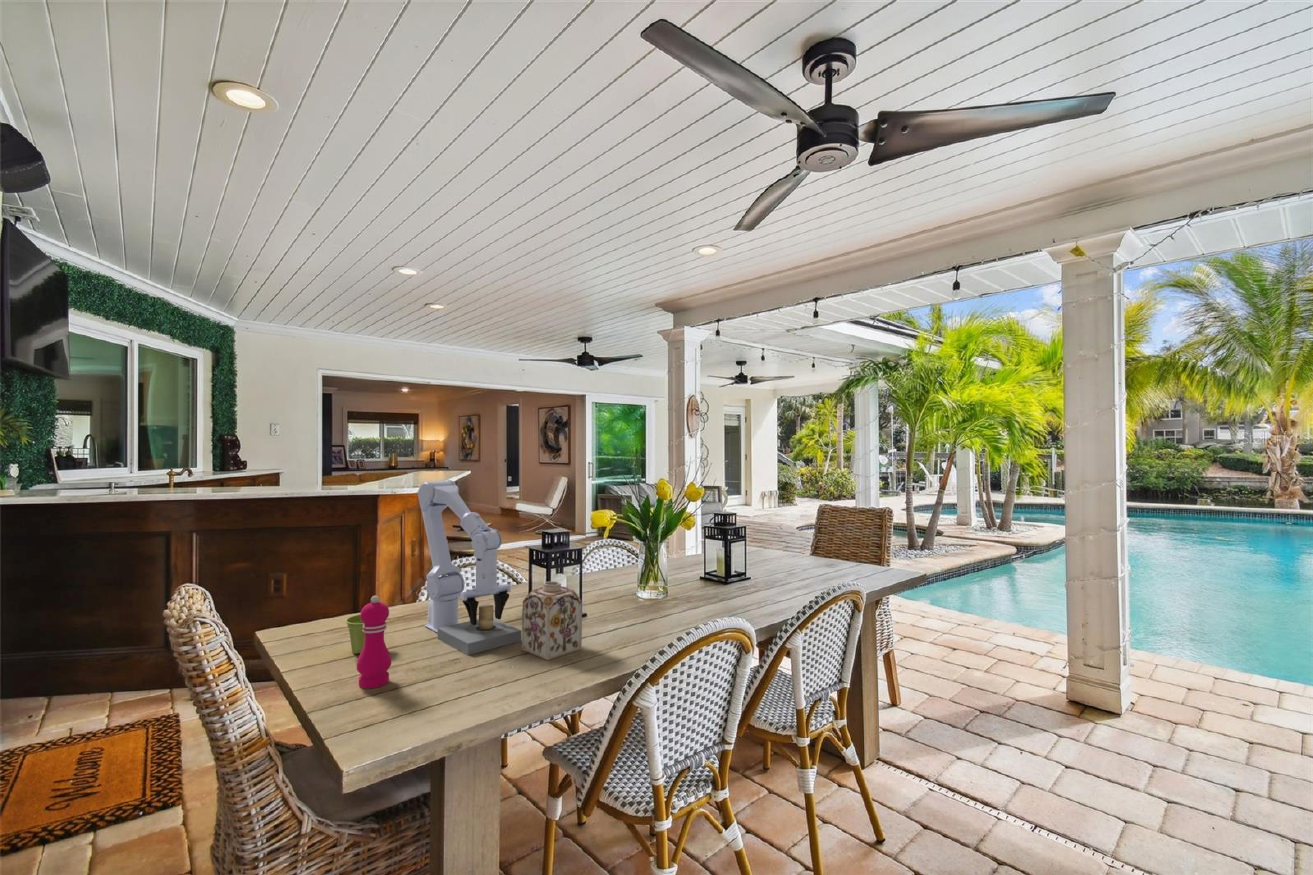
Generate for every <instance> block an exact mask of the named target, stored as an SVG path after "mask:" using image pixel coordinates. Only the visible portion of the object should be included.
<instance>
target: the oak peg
mask: <svg viewBox="0 0 1313 875" xmlns="http://www.w3.org/2000/svg"><path fill="white" fill-rule="evenodd" d="M494 608H495V605H492V604H482V605H478V619H479V628H478V630H479V631H489V630H493V619H494Z"/></svg>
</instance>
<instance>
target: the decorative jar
mask: <svg viewBox="0 0 1313 875" xmlns="http://www.w3.org/2000/svg"><path fill="white" fill-rule="evenodd" d="M582 605H583V601H582V599H581V597H579V595H578V594H577V592H576V591H575V590H574V589H573V588H570V587H567V586H564V585H563V586H562V583H561V581H555V580H554V581H552V580H551V581H545V582H543V585H542V586H541V587H537V588H534V589H532V590H531V591H530V592H529V593H528V594H527V595H526V596H525V598H524V599H523V601H522V607H521V608H522V614H521V617H522V618H521V648H522V649H521V650H522V651H524V652H527V653H528V654H531V655H534V656H535V657H538V658H541V659H544V660H546V661H551V660H553V659H556V658H560V657H562V656H566V655H569V654H572V653H575V652H578V650H579V651H581V650H582V649H583V648H582V641H583V640H582V639H583V614H582V613H583V606H582Z"/></svg>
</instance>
